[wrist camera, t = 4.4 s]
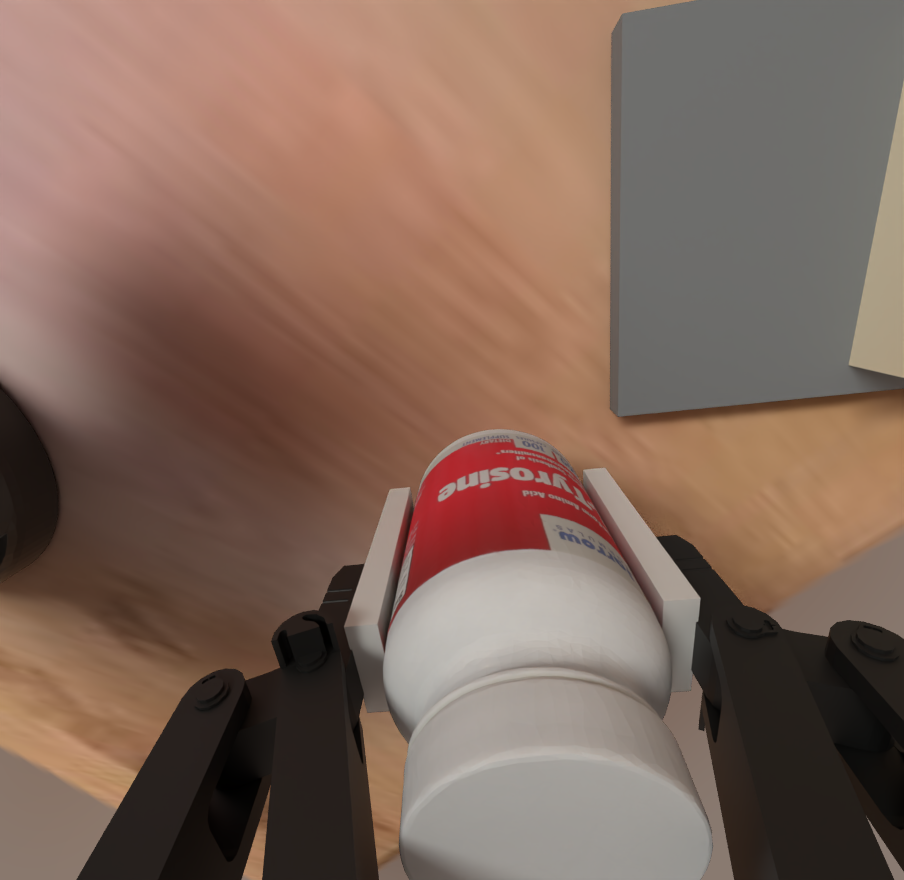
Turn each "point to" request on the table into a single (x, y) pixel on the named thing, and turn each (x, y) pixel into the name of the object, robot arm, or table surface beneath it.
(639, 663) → the pill bottle
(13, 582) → the table surface
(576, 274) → the table surface
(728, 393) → the socket board
